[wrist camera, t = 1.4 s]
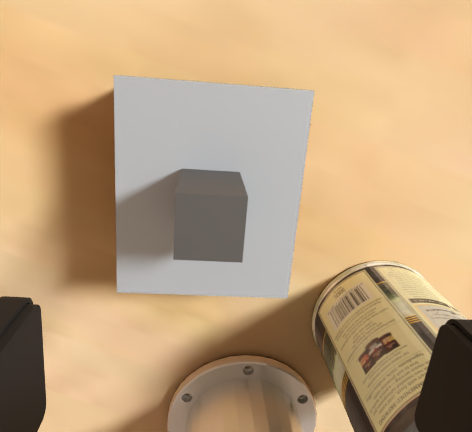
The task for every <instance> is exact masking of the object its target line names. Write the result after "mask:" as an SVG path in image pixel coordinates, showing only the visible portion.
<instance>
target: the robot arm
mask: <svg viewBox="0 0 472 432" xmlns="http://www.w3.org/2000/svg"><path fill="white" fill-rule="evenodd" d="M45 409H46V391H45V374H44V356H43V339H42V321H41V308H40V306H39V305H33V302H32V300H31V299H30V298H24V297H1V298H0V432H37V431H38V429H39V427H40V425H41V422H42V420H43V417H44V414H45ZM316 417H317V413H316V408H315V402H314V400H313V397H312V394H311V391H310V389H309V387H308V386H307V384H306V383H305V381H304V380H303V379H302V378H301V377H300V376H299V375H298V373H297V372H295V371H294V370H292V369H291V368H290V367H288V366H287V365H285V364H283V363H280V362H278V361H276V360H273V359H270V358H265V357H261V356H251V355H240V356H230V357H226V358H222V359H219V360H215V361H213V362H211V363H208V364H206V365H204V366H202V367H200V368H199V369H197V370H196V371H194V372H193V373H192V374H190V375H189V376H188V377H187V378H186V379H185V380H184V381H183V382H182V383H181V384H180V386H179V387H178V389H177V390H176V392H175V393H174V395H173V398H172V400H171V403H170V406H169V412H168V421H167V431H168V432H314V430H315V427H316ZM415 424H416V427H417V429H418V431H419V432H472V320H465V319H450V320H448V321H447V322H446V323H445V325H442V326H441V327H440V328H439V330H438V334H437V337H436V341H435V344H434V348H433V351H432V355H431V358H430V362H429V365H428V368H427V372H426V375H425V379H424V382H423V386H422V389H421V393H420V396H419V400H418V403H417V407H416V410H415Z"/></svg>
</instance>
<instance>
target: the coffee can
mask: <svg viewBox="0 0 472 432" xmlns="http://www.w3.org/2000/svg"><path fill="white" fill-rule="evenodd" d="M450 319H465V320H468V319H467V318H466V317H464V316H463V315H462V314H461V313H460V312H459V311H458V310H457V309H456V308H455V307H454V306H453V305H451V304H450V303H449V302H448V301H447V300H446V299H445V298H444V297H443V296H442V295H441V294H440V293H438V292H437V291H436V290H435V289H434V288H433V287H432V286H431V285H430V284H429V283H428V282H427V281H426V280H425V278H424V277H423V276H422V275H420V274H419V273H418V272H417V271H415V270H414V269H412V268H410V267H408V266H406V265H404V264H401V263H398V262H391V261H372V262H367V263H363V264H359V265H357V266H354V267H352V268H350V269H347V270H346V271H344V272H343V273H341V274H340V275H339V276H337V277H336V278H335V279H334V280H332V281H331V282H330V283H329V284H328V285H327V287H326V288H325V289H324V290H323V292H322V293H321V295H320V296H319V298H318V300H317V302H316V304H315V307H314V311H313V315H312V332H313V336H314V339H315V342H316V344H317V346H318V348H319V350H320V351H321V354H322V356H323V358H324V360H325V363H326V365H327V367H328V370H329V372H330V375H331V377H332V379H333V382H334V384H335V387H336V389H337V391H338V394H339V396H340V398H341V401H342V403H343V405H344V408H345V410H346V412H347V415H348V417H349V420H350V422H351V425H352V427H353V429H354V432H419V431H418V429H417V427H416V424H415V410H416V407H417V403H418V400H419V396H420V393H421V389H422V386H423V382H424V379H425V375H426V372H427V368H428V365H429V362H430V358H431V355H432V351H433V348H434V344H435V341H436V337H437V334H438V330H439V328H440V327H441V326H442V325H445V323H446V322H447V321H448V320H450Z"/></svg>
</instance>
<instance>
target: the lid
mask: <svg viewBox="0 0 472 432" xmlns="http://www.w3.org/2000/svg"><path fill="white" fill-rule="evenodd" d="M313 97H314V91H312V90H301V89H288V88H275V87H263V86H250V85H237V84H224V83H211V82H199V81H186V80H173V79H160V78H148V77H135V76H122V75H114V131H115V197H116V263H117V293H146V294H175V295H205V296H234V297H263V298H288V291H289V283H290V275H291V267H292V260H293V252H294V244H295V236H296V229H297V221H298V213H299V205H300V198H301V190H302V182H303V174H304V167H305V159H306V151H307V143H308V136H309V128H310V120H311V112H312V105H313Z"/></svg>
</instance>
